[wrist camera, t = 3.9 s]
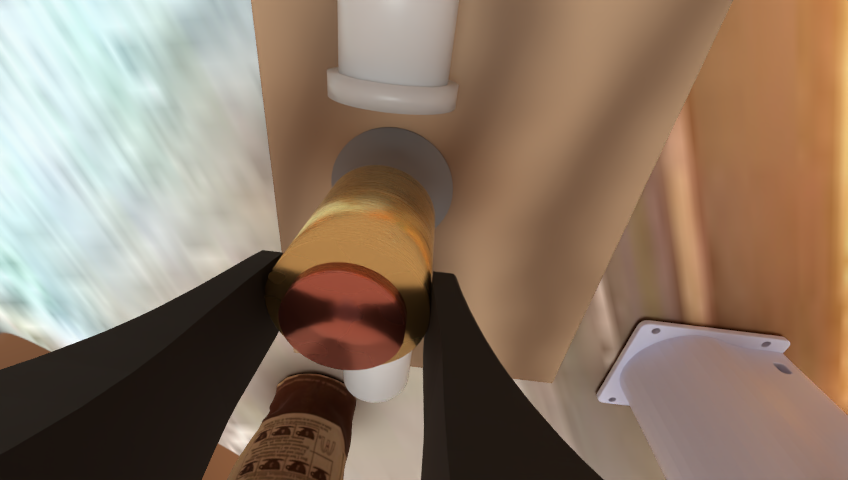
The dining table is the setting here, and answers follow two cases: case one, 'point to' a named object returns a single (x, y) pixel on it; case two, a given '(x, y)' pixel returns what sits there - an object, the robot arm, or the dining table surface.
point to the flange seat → (400, 161)
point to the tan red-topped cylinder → (358, 272)
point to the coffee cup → (301, 433)
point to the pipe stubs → (393, 100)
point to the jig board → (506, 144)
